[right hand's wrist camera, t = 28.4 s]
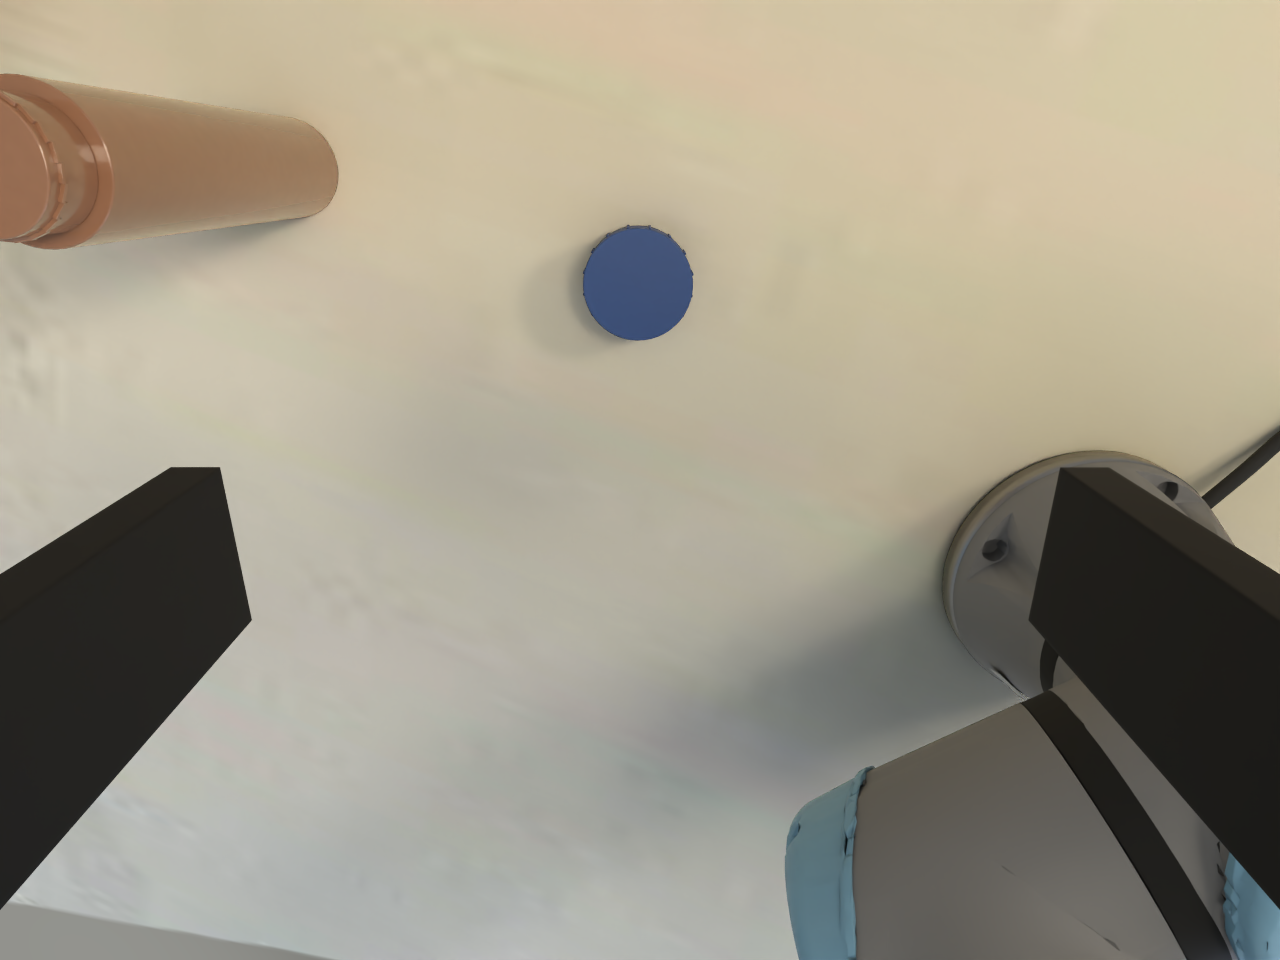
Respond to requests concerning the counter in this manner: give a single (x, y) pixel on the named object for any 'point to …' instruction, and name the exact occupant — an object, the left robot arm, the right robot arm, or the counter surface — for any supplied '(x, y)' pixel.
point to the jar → (147, 165)
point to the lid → (638, 283)
